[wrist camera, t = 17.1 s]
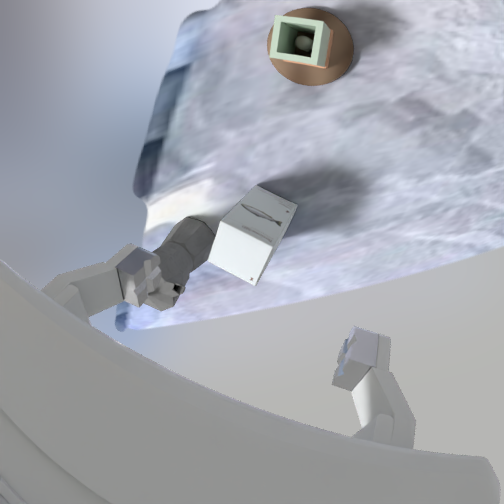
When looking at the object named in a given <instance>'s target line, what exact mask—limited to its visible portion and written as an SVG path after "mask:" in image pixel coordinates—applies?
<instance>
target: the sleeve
mask: <svg viewBox="0 0 504 504" xmlns="http://www.w3.org/2000/svg"><path fill="white" fill-rule="evenodd" d="M298 32H305V33H311V34H315V35H314V42H313V48H312V54H311V58H310V57H305V56H299V55H294V53H295V46H296V44H295V40H296V38H297V33H298ZM333 34H334V31H333V30H331V29H329V28H328V26H327V25H326V24H325V23H324V21H318V20H311V19H304V18H297V17H288V16H279V15H275V20H274V27H273V34H272V41H271V48H270V56H269V57H270V58H276V59H282V60H284V61H285V62H292V63H298V64H303V65H309V66H314V67H319V68H324V69H326V68H327V69H328V64H329V58H330V52H331V46H332V40H333Z"/></svg>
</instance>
